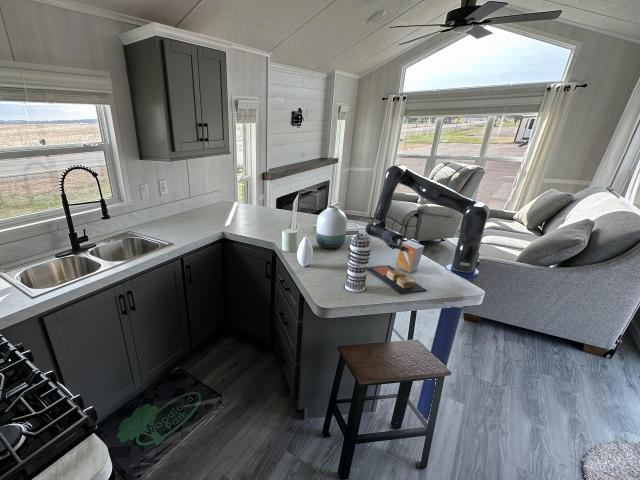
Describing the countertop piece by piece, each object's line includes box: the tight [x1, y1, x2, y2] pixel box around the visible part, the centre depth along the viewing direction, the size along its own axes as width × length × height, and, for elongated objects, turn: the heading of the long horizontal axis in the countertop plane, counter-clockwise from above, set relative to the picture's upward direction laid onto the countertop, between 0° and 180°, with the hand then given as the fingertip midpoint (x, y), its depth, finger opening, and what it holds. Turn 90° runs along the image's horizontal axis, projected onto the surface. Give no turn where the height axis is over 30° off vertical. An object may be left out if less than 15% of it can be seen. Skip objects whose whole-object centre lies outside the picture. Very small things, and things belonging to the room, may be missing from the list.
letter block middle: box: [387, 269, 404, 281], centre depth 153 cm, size 5×5×3 cm
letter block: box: [397, 276, 416, 288], centre depth 146 cm, size 5×5×3 cm
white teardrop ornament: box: [296, 235, 314, 267], centre depth 168 cm, size 8×8×18 cm
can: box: [281, 227, 299, 253], centre depth 193 cm, size 9×9×12 cm
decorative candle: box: [345, 232, 372, 293], centre depth 142 cm, size 9×9×25 cm
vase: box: [315, 205, 348, 250], centre depth 193 cm, size 17×17×24 cm
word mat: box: [366, 265, 427, 295], centre depth 154 cm, size 12×28×1 cm, turn 10°
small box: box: [395, 239, 425, 273], centre depth 160 cm, size 8×6×13 cm
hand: (412, 248), depth 158 cm, fingers closed on small box, 8 cm apart
